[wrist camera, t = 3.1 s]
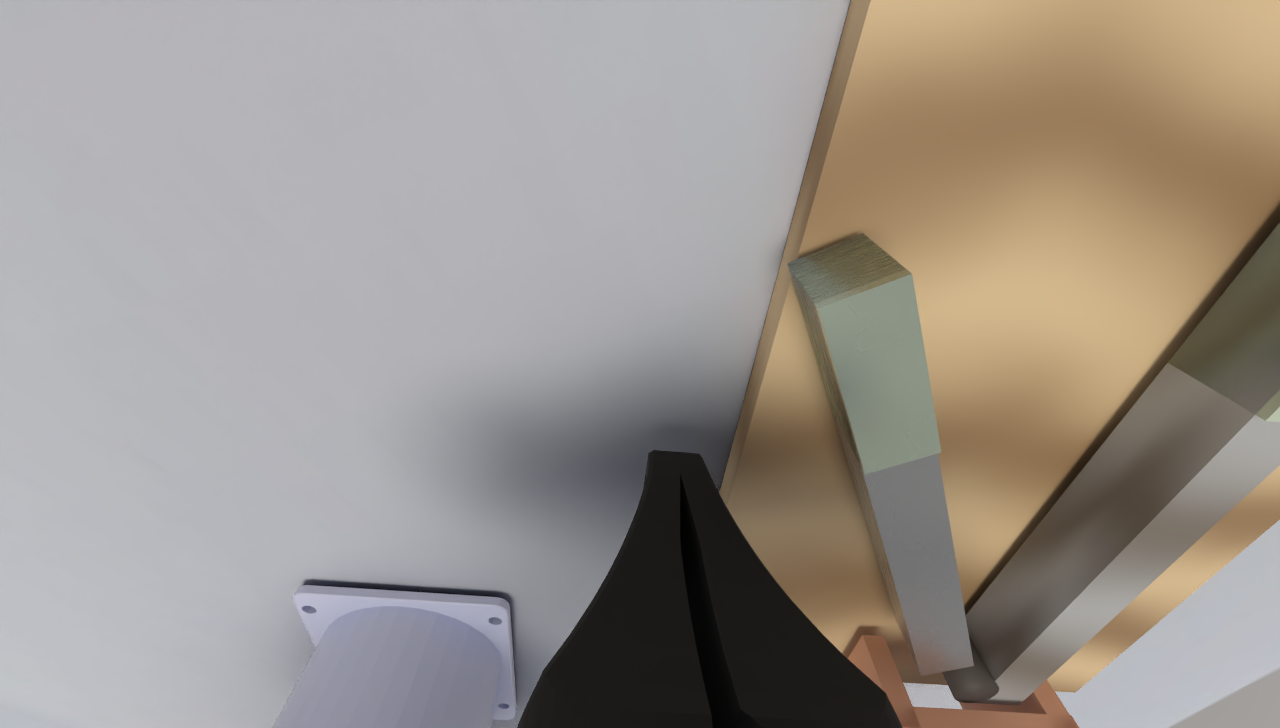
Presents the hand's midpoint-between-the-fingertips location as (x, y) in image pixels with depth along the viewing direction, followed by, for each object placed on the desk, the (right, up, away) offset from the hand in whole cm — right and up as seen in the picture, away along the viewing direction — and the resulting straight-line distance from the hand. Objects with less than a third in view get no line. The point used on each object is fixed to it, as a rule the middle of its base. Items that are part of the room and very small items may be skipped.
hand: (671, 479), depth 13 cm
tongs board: (+10, 0, +2) cm, 11 cm away
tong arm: (+6, 0, +1) cm, 6 cm away
